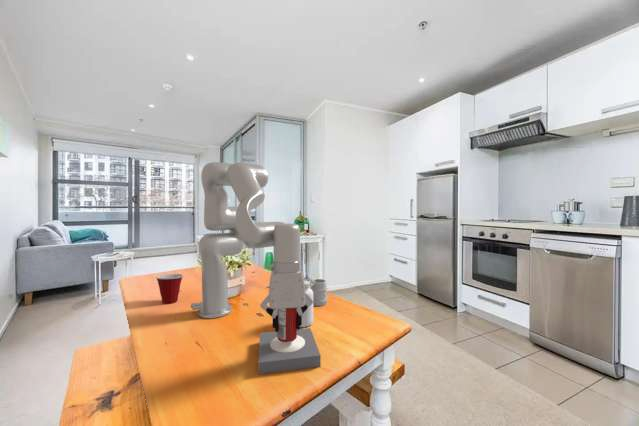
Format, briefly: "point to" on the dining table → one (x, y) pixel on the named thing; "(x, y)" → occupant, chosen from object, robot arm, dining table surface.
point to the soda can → (287, 325)
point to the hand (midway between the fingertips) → (287, 328)
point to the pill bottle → (308, 314)
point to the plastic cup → (169, 287)
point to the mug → (319, 292)
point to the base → (288, 352)
